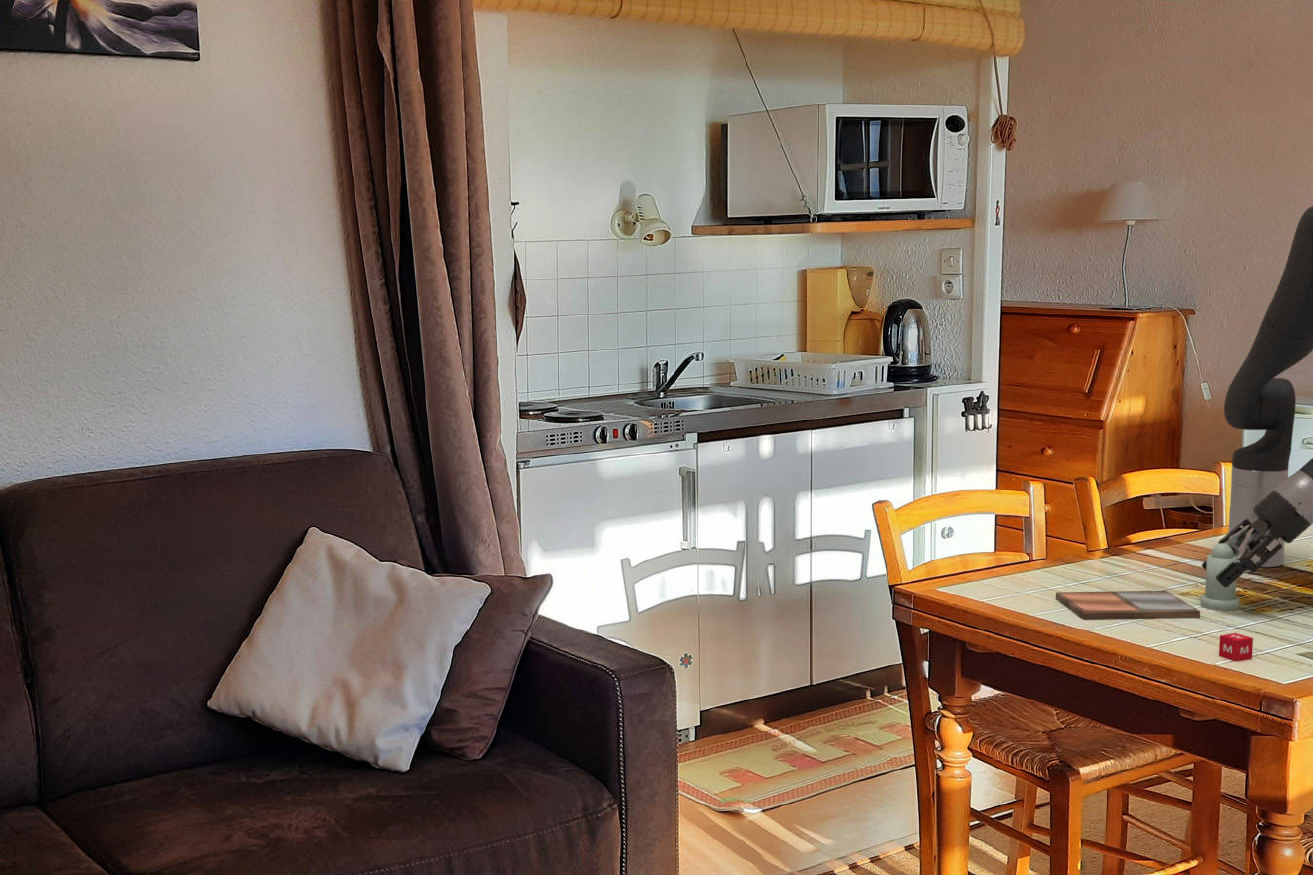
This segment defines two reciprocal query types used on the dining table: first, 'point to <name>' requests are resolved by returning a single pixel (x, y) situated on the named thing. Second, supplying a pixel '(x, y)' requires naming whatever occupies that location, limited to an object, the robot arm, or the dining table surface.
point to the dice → (1235, 647)
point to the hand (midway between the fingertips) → (1212, 576)
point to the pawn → (1214, 591)
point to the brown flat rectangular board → (1126, 605)
